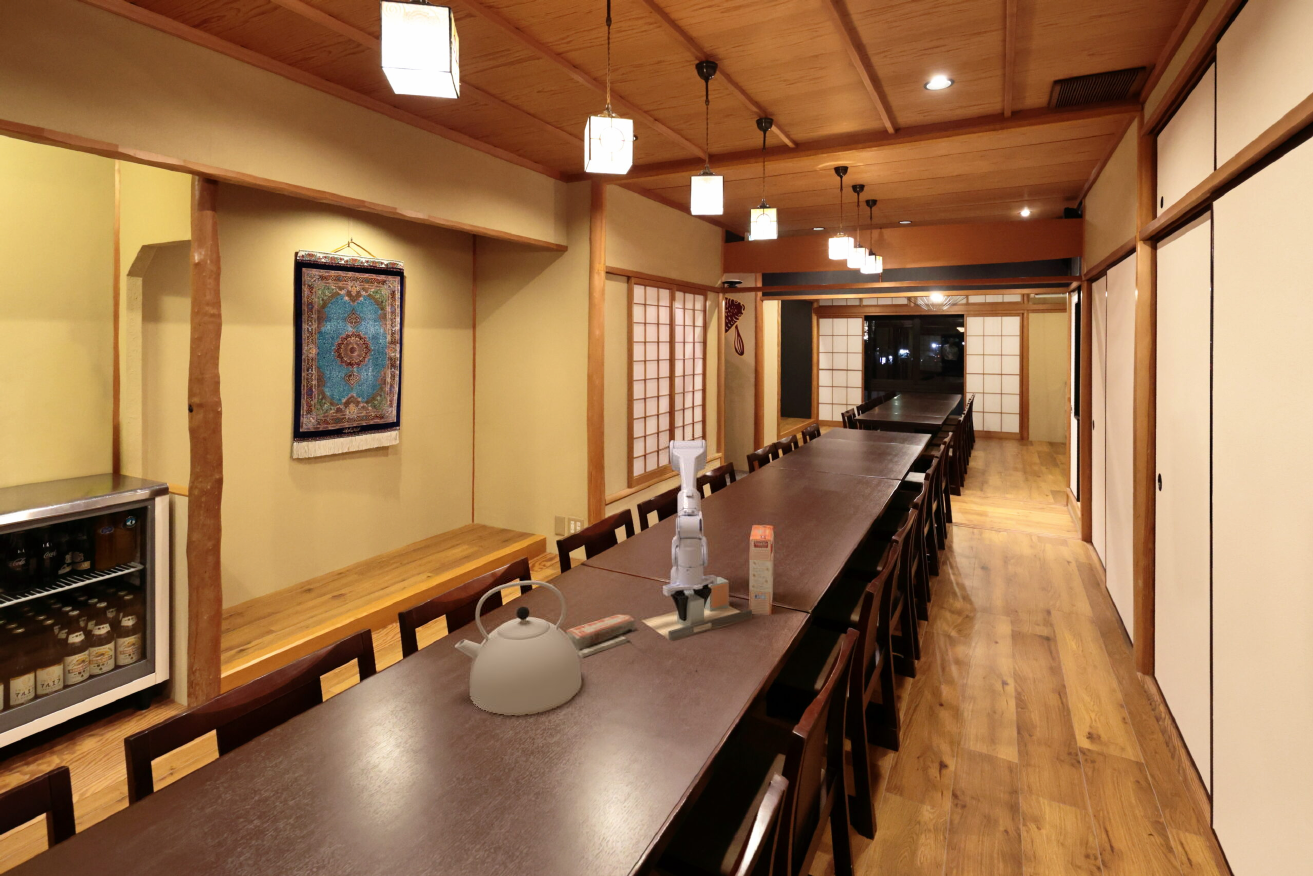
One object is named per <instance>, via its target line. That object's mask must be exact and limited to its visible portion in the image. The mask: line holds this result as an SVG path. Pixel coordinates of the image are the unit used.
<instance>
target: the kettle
mask: <svg viewBox="0 0 1313 876" xmlns="http://www.w3.org/2000/svg"><path fill="white" fill-rule="evenodd" d="M530 585H531V586H533V585H534V586H540V587H541V586H542V587H545V588H548V589H549V590H551V591H552V592H554V593H555V594H556V595H557V597H558V598H559V601H560V604H561V614H560V616H559V617H560V618H559V620H558V621H557V623H556V624H553V623H552V622H550V621H548V620H545V619H543V618H538V617H532V616H530V613H531V612H530V609H529V608H528V607H527V606H525V605H523V606H520V607H518V608H517V610H516V614H515V615H516V616H517V617H516V618H514V619H511V620H508V621H506V622H504V623H502V624H501V625H499V626H497V627H496V628H495V629H494V630H492V631H491V632H490V633H489V634H488V633H487V632H486V630H485V629H484V628H485V627H483V625H482V622H481V619H480V614H481V608H482V606H483V604H484V602H485V601H486V599H487V598H489V597H490V596H491V595H493V594H494V593H496V592H499V591H501V590H505V589H509V588H513V587H520V586H530ZM566 614H567V606H566V602H565V598H564V595H562V593H561V591H560V590H559V589H558V588H556V587H555V586H554V585H552V584H550V583H547V582H544V581H540V580H523V581H522V580H521V581H513V582H508V583H506V584H502V585H499V586H496V587H494V588H492V589H490V590H489V591H488V592H486V593H485V594H483V596H482V597H481V598H480V599H479V601H478V603H477V605H476V609H475V623H476V626H477V628H478V629H479V631H480V633H481V634H482V636H483V638H484V640H483V641H482V642H481V643H477V642H473V641H470V640H468V639H462V640H460V641H459V642H457V643H456V644H455V645H454V648H456V649H457V650H458V651H460V652H461V653H463V654H465V655H467V656H468V657H470V658H472V662H471V666H470V671H469V672H470V673H469V697H470V696H471V697H470V698H469V699H470V700H472V701H473V702H472V701H471V702H472V703H473V705H475V704H476V705H475V706H476V707H477V706H478V707H479V708H478V707H477V708H478V709H480V708H481V709H480V710H482V709H483V710H482V711H484V710H486V711H485V712H487V711H489V712H488V713H490V712H493V713H498V714H497V715H499V714H504V715H503V716H511V715H515V716H526V715H525V714H528V715H534V714H539V713H543V712H546V711H549V710H553V709H555V708H557V706H558V707H559V706H560V707H561V705H564V704H566V703H567V702H568V701H570V700H571V699H573V698H574V697H575V696H576V695H577V694H578V693H579V691H580V689H581V687H582V682H583V681H582V680H583V679H582V671H581V663H580V662H581V661H580V656H578V654H577V651H576V649H575V647H574V645H573V643H572V641H571V640H570V638H569V637H568V636H567V635H566V632H564V631H563V630H562V629H561V628H560V627H561V626H562V624H563V623H564V620H565V619H566ZM576 693H577V694H576ZM575 694H576V695H575ZM574 695H575V696H574ZM573 696H574V697H573ZM572 697H573V698H572ZM552 708H553V709H552ZM538 712H539V713H538ZM493 713H492V714H493Z"/></svg>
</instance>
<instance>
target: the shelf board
mask: <svg viewBox="0 0 1313 876" xmlns="http://www.w3.org/2000/svg"><path fill="white" fill-rule="evenodd" d="M750 619H753V614H752V610H751V609H749V608H748V609H745V610H742V611H740V610H738V609H736V608H734V607H732V606H730V605H729V607H727V608H723V609H719V610H715V611H711V612H710V611H708V610H706V609H704V622H700V623H696V624H693V625H689V626H685V627H684V626H682V625H681V624H679V623H678V622H677V610H676V611H673V612H669V613H666V614H661V615H657V616H653V617H650V618H646V619H641V622H643V623H644V624H645V625H647V626H648V627H650V628H651V629H653V630H654V631H656V632H657V633H659V634H660V635H662V636H663V637H664V638H666V639H667V640H669V641H675V640H679V639H682V638H687V637H690V636H693V635H697V634H700V633H704V632H706V631H711V630H714V629H718V628H722V627H725V626H728V625H732V624H736V623H739V622H743V621H747V620H750Z"/></svg>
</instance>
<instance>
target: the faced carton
mask: <svg viewBox="0 0 1313 876" xmlns="http://www.w3.org/2000/svg"><path fill="white" fill-rule="evenodd" d="M716 577H717V584H716V585H713V584H711V585H709V587H710V588H711V589H712V593H711V594H710V596H709V598H708V600H707V602H706V605H705V608H704V609H706V610H708V611H710V612H711V611H715V610H719V609H723V608H727V607H729V606H730V585H729V584H730V581H729V580H727V579H725V578H723V577H721V576H716Z"/></svg>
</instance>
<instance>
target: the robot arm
mask: <svg viewBox="0 0 1313 876" xmlns="http://www.w3.org/2000/svg"><path fill="white" fill-rule="evenodd" d="M707 447H708V445H707V441H706V440H705V439H702V440H700V439H698V440H673V439H672V440H670V442H669V462H670V467H671V470H673V471H675V472H677V473H678V474H679V477H680V490H679V492H678V494H677V517H676V519H675V536H674V537H673V538H672V541H671V565H672V568H671V570H670V583H669V584H666V585H663V586H662V594H663V595H665V596H667V597H671V598H672V600H673V603H674V604H675V607H676V611H678V615H679V619H681V620H682V621H686V617H687V602H688V598H689V597H688V596H687V595H685V593H688V592H691V593H693V594H695V595H697V596H699V597H701V598H703V599H704V608H705V605H706V602H707V600H708V598H709V596H710V594H711V593H712V589H711V588H710V587H709V585H711V584H713V585H716V584H717V577H718V576H716V575H714V574H711V575H710V574H709V575H704V569H705V568H704V567H706V566H707V565H708V564H709V552H708V551H709V549H708V539H707V537H705V536H704V518H703V512H702V505H701V493H700V492H699V491H698V490H697V476H698V474H699V472H702V471H703V470H705V469H706V467H707V459H708V458H707V456H708V455H707V453H708V451H707V450H708V449H707Z"/></svg>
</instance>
